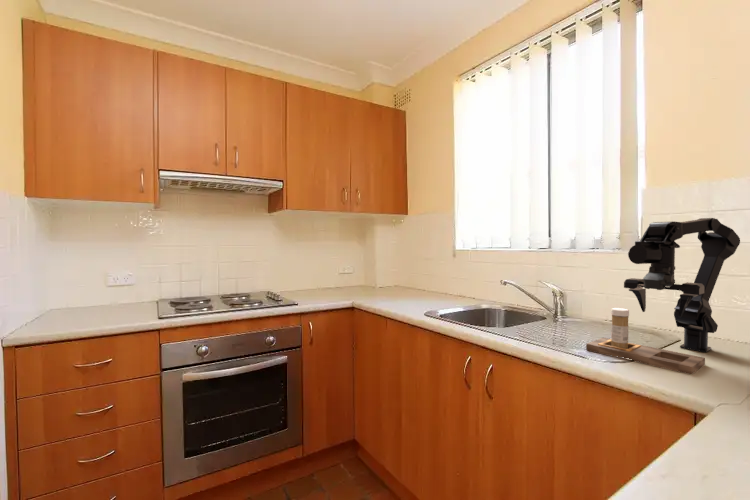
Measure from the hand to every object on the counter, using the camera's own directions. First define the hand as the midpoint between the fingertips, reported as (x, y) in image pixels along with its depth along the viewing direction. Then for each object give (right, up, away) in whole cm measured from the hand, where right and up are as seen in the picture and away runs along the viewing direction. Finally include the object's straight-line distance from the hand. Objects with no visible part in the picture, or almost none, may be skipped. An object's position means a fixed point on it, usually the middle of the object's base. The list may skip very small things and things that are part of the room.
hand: (661, 314), depth 113 cm
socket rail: (-8, -12, -3) cm, 15 cm away
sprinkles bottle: (-12, -12, +2) cm, 17 cm away
